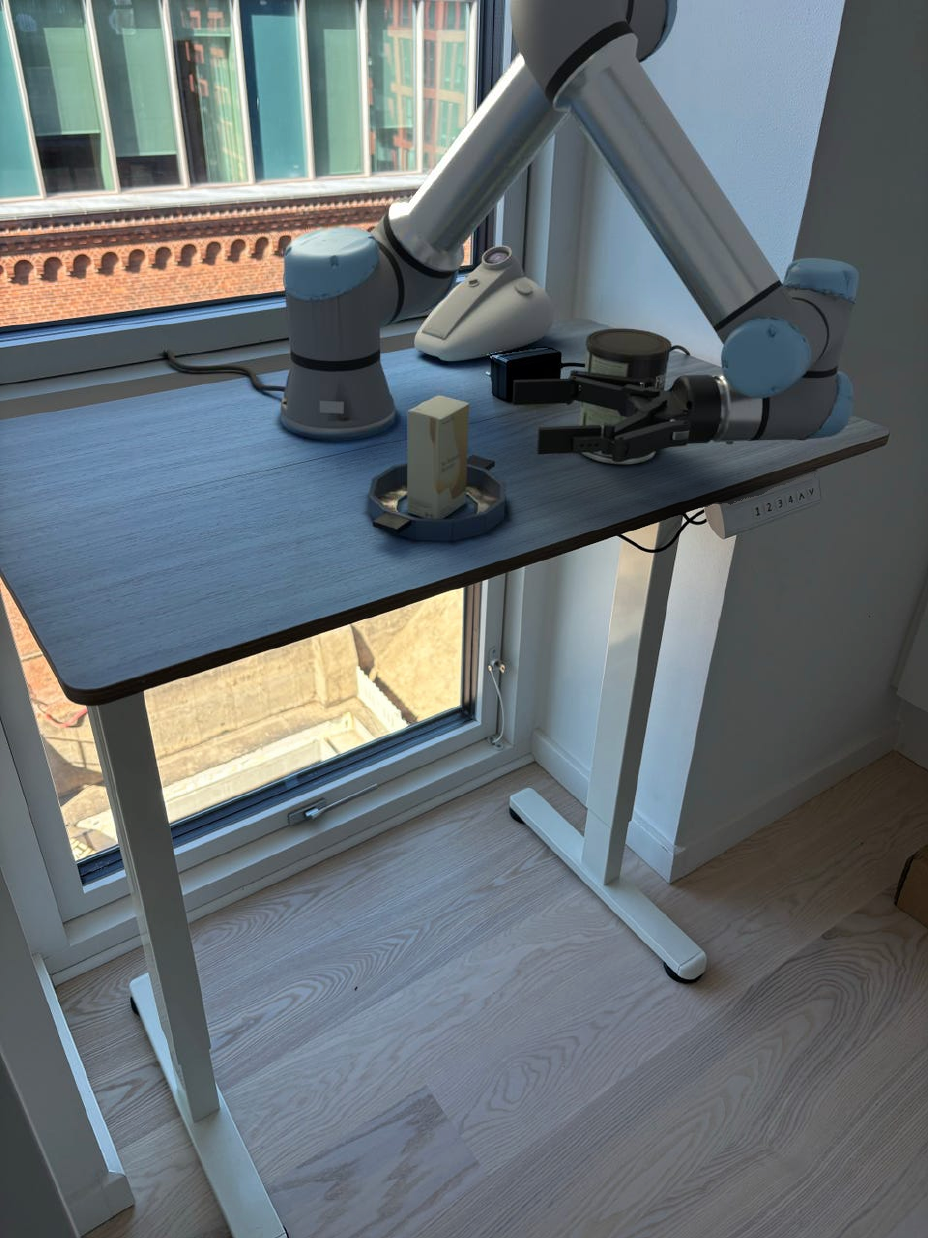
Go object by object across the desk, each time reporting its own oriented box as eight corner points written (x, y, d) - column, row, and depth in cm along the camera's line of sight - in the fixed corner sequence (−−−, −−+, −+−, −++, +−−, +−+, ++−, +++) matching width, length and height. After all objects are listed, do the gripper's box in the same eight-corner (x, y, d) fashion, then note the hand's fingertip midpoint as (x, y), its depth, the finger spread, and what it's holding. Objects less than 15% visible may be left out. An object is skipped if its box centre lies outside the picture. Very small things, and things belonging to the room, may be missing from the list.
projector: (410, 322, 166) (410, 232, 158) (541, 322, 168) (548, 234, 160) (415, 367, 148) (415, 268, 140) (563, 366, 150) (571, 269, 142)
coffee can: (657, 436, 129) (672, 331, 121) (654, 469, 120) (670, 358, 112) (580, 428, 130) (590, 323, 122) (571, 460, 122) (582, 350, 114)
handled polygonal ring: (328, 525, 106) (327, 505, 105) (430, 460, 121) (430, 442, 120) (445, 565, 100) (445, 545, 99) (538, 491, 114) (539, 473, 113)
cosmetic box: (437, 524, 107) (439, 420, 100) (405, 513, 109) (404, 410, 102) (468, 502, 112) (471, 401, 105) (437, 492, 114) (438, 392, 107)
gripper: (747, 488, 100) (547, 498, 97) (670, 399, 121) (503, 404, 118) (762, 420, 96) (553, 428, 93) (679, 339, 116) (506, 344, 114)
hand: (525, 415), depth 106 cm, fingers open, 13 cm apart
